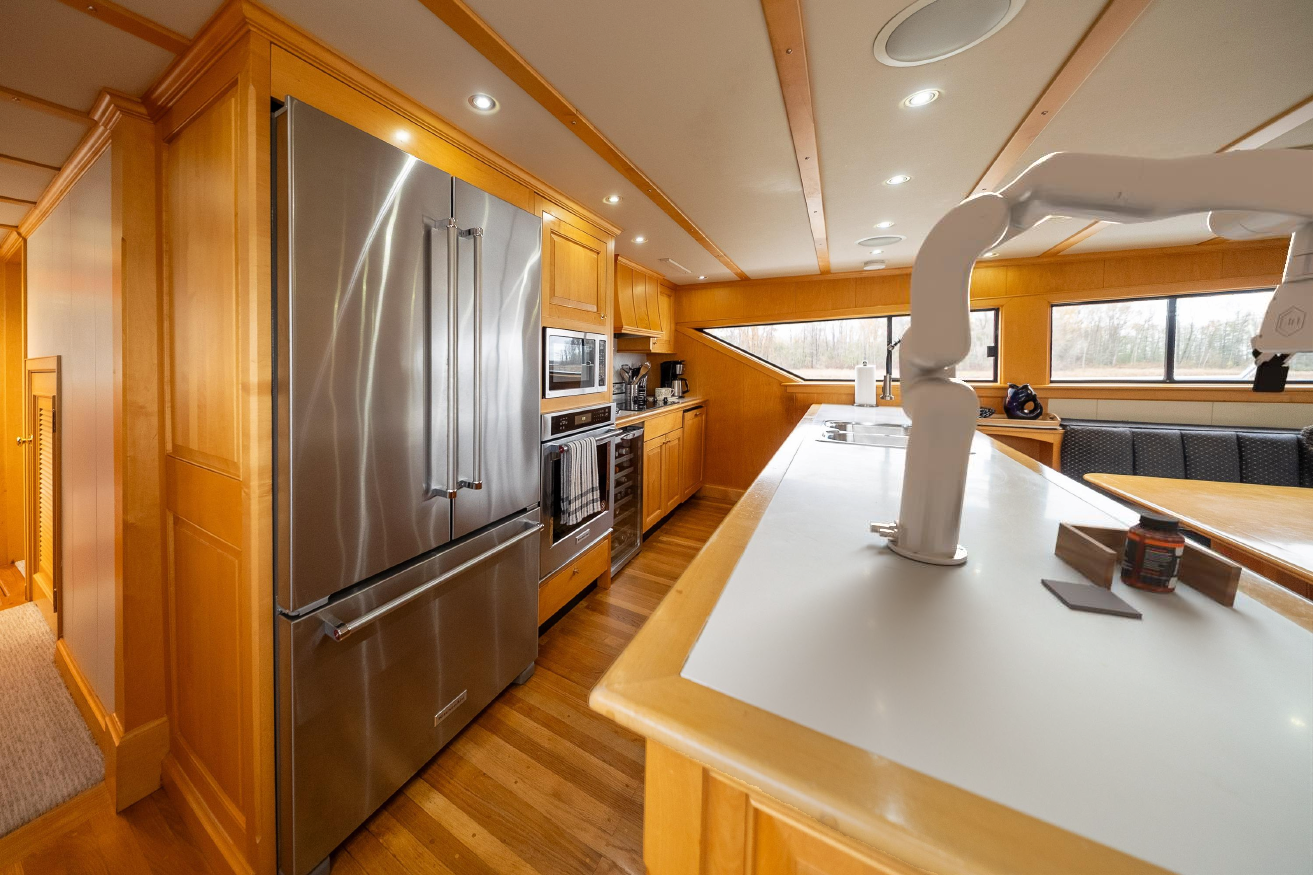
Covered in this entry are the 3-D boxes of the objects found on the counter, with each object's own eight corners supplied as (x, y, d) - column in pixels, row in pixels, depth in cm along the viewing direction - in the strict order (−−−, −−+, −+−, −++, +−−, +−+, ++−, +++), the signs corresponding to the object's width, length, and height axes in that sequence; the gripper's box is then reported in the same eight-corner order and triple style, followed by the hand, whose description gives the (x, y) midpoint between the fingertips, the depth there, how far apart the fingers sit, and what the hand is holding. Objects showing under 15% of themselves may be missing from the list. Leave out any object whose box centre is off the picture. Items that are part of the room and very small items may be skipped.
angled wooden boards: (1102, 589, 69) (1109, 552, 68) (1054, 553, 82) (1059, 522, 81) (1232, 606, 64) (1242, 567, 63) (1159, 566, 77) (1166, 533, 76)
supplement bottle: (1186, 597, 67) (1202, 525, 65) (1139, 592, 68) (1154, 521, 66) (1152, 578, 73) (1165, 512, 71) (1108, 575, 74) (1121, 509, 72)
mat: (1069, 607, 63) (1070, 603, 63) (1041, 582, 71) (1041, 578, 71) (1141, 618, 61) (1142, 614, 61) (1104, 590, 68) (1105, 587, 68)
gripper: (1236, 281, 70) (1213, 390, 73) (1366, 255, 54) (1331, 397, 57) (1302, 279, 68) (1276, 391, 71) (1459, 251, 52) (1417, 399, 55)
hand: (1300, 394), depth 64 cm, fingers open, 9 cm apart
